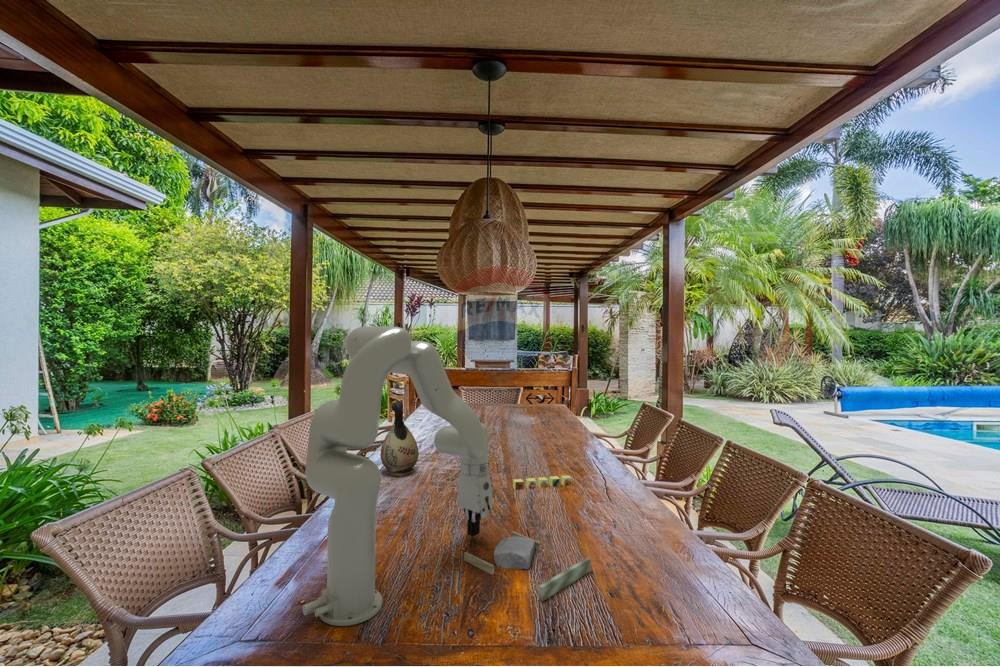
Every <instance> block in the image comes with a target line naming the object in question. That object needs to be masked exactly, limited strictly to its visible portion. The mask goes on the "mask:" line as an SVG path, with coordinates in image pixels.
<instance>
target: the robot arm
mask: <svg viewBox="0 0 1000 667" xmlns="http://www.w3.org/2000/svg"><path fill="white" fill-rule="evenodd" d="M345 349H346V352H347V353H348V356H349V357H350V358H351V359H350V361H349V362H348V364H347V366H345V367H346V368H345V370H344V372H343V374H342V375H343V376H342V379H341V385H340V389H339V390H340V392H339V398H338V399H333V400H328V401H326V402H324V403H322V404H320V406H318V408H317V409H316V411H314V413H313V416H312V417H311V421H310V424H309V425H310V426H309V432H308V439H307V440H308V442H307V448H306V449H307V452H306V461H305V479H306V482H307V485H308V486H309V487H310V489H311V490H313V491H314V492H316V493H318V494H321V495H323V496H326V497H329V498H331V499H332V500H334V504H333V505H334V506H333V507H332V511H331V512H330V514H329V518H328V522H327V554H326V555H327V556H326V557H327V566H326V567H327V571H326V572H327V575H326V588H324V589H322V591H321V596H318V597H317V599H316V600H314V601H310V602H307V603H305V604H303V605H302V614H303V615H304V616H307V615H310V614H312V613H314V616H315V617H316V618H318V617H319V619H320V620H321V621H322V622H324V623H326V624H328V625H331V626H335V627H336V626H337V627H346V626H354V625H358V624H361V623H363V622H366V621H368V620H370V619H371V618H373V617H374V616H376V615H377V614H378V612H380V611H381V608H382V606H383V596H382V594H381V593H380V592H379V591H378V590H377V589H376V530H377V528H376V526H377V524H376V520H377V506H378V501H379V500H378V499H379V494H380V489H381V485H382V475H381V474H382V473H381V470H380V468H379V467H378V465H377V463H375V462H374V460H373V461H372V460H371V459H370V458H368V457H366V456H363V455H359V454H354V453H351V452H347V450H348V449H353V450H363V449H367V448H369V447H370V446H371V447H372V445H374V443H375V442H376V439H377V438H378V437H377V436H378V433H379V427H380V417H381V407H382V406H381V404H382V393H383V390H384V383H385V381H386V378H387V377H388V376H389V374H391V373H392V374H398V375H399V374H401V375H408V376H409V378H410V381H411V383H412V385H413V387H414V389H415V392H416V394H417V396H418V398H419V400H420V403H421V404H422V406H423V407H424V408H425V409H426V410H428V411H429V412H430V413H432V414H433V415H436V416H437V417H439V418H440V419H442V420H444V421H446V422H447V423H448V424H449V425H445V426H443V427H441V428H439V429H438V430H437V431H436V433H435V435H434V438H433V444H434V446H435V449H437V451H438V452H440V453H442V454H445V455H448V456H454V457H458V458H460V471H459V476H458V481H457V504H458V505H459V508H460V510H462V511H463V512H464V514H465V520H466V521H467V527H466V528H467V532H466V533H467V536H470V537H475V536H477V535H480V533H481V532H480V531H481V530H480V528H481V520H482V519H486V518H489V516H490V514H489V511H491V510H492V509H493V505H494V504H493V489H492V488H493V487H492V486H493V485H492V481H491V475H490V474H489V472H490V469H489V428H488V426H487V425H486V424H485V423H483V422H481V420H480V418H479V416H478V415H477V413H476V412H475V411H474V409H473V408H472V407H471V406H470V405H469V404H468V403H467V402H466V401H465V400H464V399H463V398H462V397H461V396H460V395H459V394H457V393H456V391H455V390H454V389H453V387H452V384H451V382H450V379H449V378H448V374H447V371H446V370H445V366H444V364H443V362H442V360H441V357H440V355H439V351H438V350H437V348H436V346H434V345H433V344H432V343H431V342H428V341H424V340H412V336H411V333H410V332H409V331H408V330H407V329H404V328H402V327H399V326H391V325H382V326H381V325H379V326H378V325H377V326H375V325H374V326H360V327H359V326H358V327H356V328H354V329H353V330H352V331H351V332H350V333H349V334H348V335H347V337H346V341H345Z"/></svg>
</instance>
